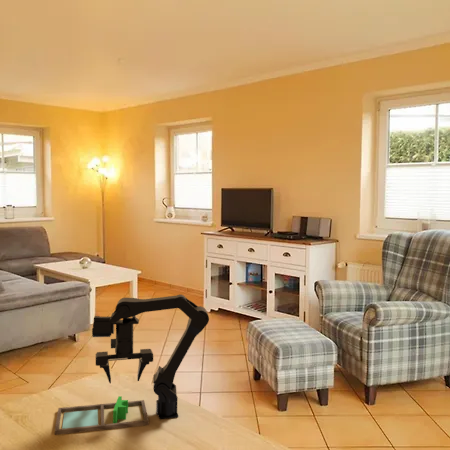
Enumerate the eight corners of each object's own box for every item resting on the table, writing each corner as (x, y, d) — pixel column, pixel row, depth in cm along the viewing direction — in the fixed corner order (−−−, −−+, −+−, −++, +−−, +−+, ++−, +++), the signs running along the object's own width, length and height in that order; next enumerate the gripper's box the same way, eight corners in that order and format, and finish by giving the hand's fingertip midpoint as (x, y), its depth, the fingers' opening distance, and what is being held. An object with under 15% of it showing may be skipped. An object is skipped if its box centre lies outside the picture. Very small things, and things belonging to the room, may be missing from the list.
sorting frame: (143, 403, 172) (143, 400, 172) (148, 424, 157) (148, 421, 157) (58, 411, 164) (58, 408, 164) (54, 434, 149) (54, 430, 149)
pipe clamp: (124, 424, 157) (124, 411, 157) (112, 424, 157) (112, 411, 156) (129, 408, 168) (129, 395, 168) (118, 408, 168) (118, 395, 168)
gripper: (149, 328, 171) (149, 370, 172) (95, 330, 166) (95, 375, 167) (153, 337, 160) (153, 383, 161) (95, 341, 155) (95, 388, 156)
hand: (124, 381), depth 161 cm, fingers open, 9 cm apart
